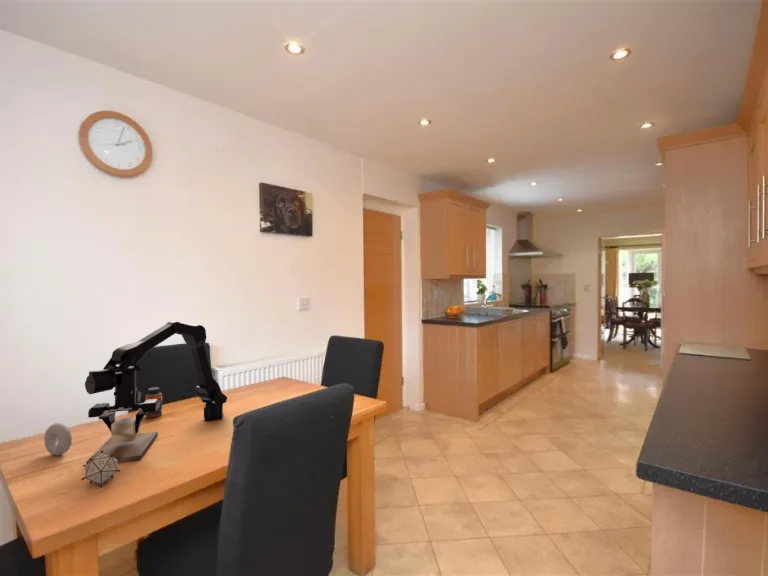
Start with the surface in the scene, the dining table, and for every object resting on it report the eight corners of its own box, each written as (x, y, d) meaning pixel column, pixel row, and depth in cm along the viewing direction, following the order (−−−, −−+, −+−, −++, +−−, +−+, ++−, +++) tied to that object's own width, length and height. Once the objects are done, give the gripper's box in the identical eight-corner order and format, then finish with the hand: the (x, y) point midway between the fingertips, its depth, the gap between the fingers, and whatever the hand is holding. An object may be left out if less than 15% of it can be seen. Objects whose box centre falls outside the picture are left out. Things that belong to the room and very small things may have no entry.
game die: (98, 494, 104) (99, 457, 109) (128, 482, 105) (128, 445, 110) (71, 493, 97) (73, 453, 101) (104, 480, 97) (105, 441, 102)
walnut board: (157, 435, 136) (157, 431, 136) (140, 460, 116) (140, 455, 116) (111, 440, 131) (111, 436, 131) (86, 466, 112) (86, 461, 112)
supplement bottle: (165, 413, 159) (165, 386, 159) (155, 418, 153) (155, 390, 153) (152, 413, 160) (152, 386, 159) (141, 417, 154) (141, 390, 154)
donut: (74, 454, 120) (74, 423, 120) (62, 459, 117) (62, 427, 117) (53, 450, 123) (53, 419, 123) (41, 454, 120) (41, 423, 120)
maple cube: (139, 434, 128) (138, 416, 128) (133, 441, 122) (133, 422, 122) (118, 436, 126) (118, 418, 126) (111, 443, 120) (111, 424, 120)
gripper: (163, 378, 134) (163, 422, 134) (101, 382, 129) (102, 428, 129) (155, 386, 124) (155, 434, 124) (87, 391, 118) (87, 441, 118)
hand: (125, 434), depth 124 cm, fingers closed on maple cube, 6 cm apart
